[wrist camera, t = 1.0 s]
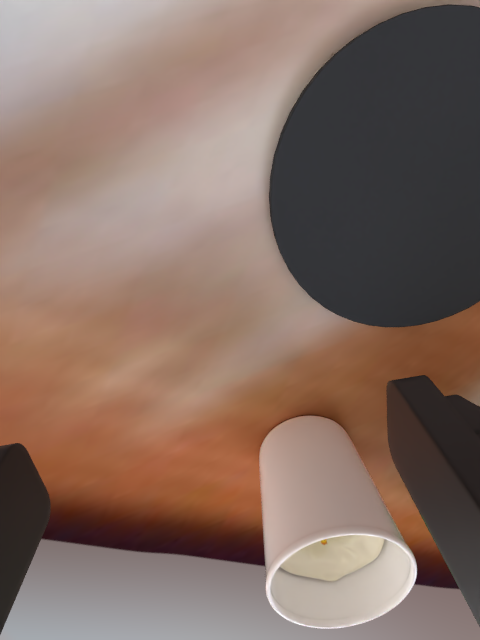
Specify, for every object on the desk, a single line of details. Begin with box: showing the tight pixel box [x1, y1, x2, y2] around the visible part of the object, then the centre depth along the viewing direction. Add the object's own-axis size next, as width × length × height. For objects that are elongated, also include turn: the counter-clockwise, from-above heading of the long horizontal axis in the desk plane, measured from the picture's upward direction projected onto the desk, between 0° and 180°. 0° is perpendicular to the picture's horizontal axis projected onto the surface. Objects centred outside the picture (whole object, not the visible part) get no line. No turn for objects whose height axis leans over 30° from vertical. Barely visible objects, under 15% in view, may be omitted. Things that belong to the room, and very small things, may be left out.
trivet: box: [269, 5, 480, 327], centre depth 28 cm, size 20×20×1 cm
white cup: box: [259, 416, 417, 629], centre depth 32 cm, size 10×10×12 cm
